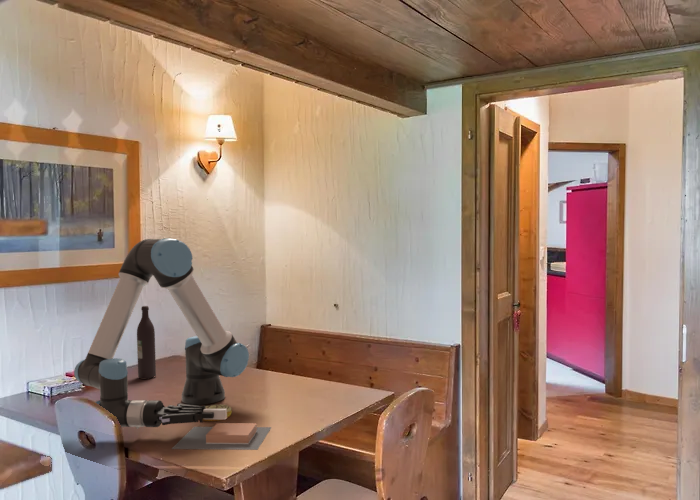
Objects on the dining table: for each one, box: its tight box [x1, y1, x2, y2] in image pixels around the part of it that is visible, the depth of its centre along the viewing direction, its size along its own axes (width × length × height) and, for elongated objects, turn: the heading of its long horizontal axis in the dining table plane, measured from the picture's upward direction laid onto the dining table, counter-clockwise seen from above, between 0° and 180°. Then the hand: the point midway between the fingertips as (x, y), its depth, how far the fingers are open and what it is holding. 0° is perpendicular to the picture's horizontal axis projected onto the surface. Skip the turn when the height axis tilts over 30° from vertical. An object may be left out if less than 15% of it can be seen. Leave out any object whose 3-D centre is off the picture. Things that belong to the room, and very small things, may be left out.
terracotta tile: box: [206, 422, 258, 444], centre depth 165 cm, size 10×2×12 cm
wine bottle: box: [136, 305, 157, 379], centre depth 241 cm, size 7×7×30 cm
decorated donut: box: [203, 403, 233, 422], centre depth 185 cm, size 10×11×4 cm
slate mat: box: [171, 426, 272, 451], centre depth 166 cm, size 18×24×1 cm
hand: (226, 414), depth 165 cm, fingers closed
